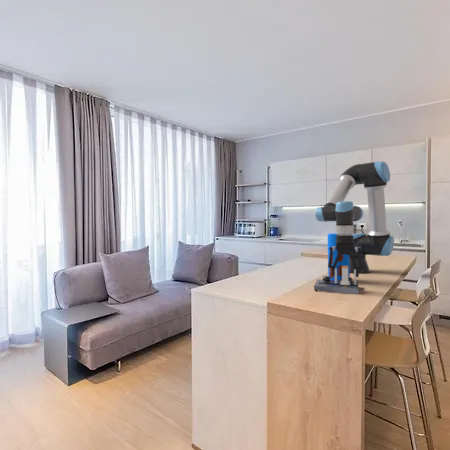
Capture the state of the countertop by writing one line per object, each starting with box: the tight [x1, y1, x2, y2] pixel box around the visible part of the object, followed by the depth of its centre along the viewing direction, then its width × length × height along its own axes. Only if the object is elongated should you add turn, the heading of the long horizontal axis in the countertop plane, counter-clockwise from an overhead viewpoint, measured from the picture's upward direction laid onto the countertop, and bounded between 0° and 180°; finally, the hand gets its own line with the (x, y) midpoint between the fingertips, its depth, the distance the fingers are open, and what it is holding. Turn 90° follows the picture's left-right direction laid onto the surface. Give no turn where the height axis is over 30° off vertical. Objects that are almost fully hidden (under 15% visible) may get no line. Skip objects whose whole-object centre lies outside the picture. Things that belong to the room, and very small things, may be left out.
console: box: [313, 275, 359, 295], centre depth 144 cm, size 14×19×4 cm
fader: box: [340, 266, 350, 285], centre depth 141 cm, size 5×4×8 cm
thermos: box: [327, 232, 351, 281], centre depth 162 cm, size 11×11×25 cm
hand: (345, 283), depth 141 cm, fingers open, 8 cm apart
